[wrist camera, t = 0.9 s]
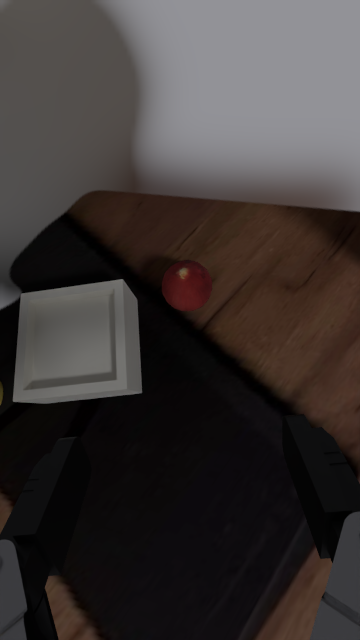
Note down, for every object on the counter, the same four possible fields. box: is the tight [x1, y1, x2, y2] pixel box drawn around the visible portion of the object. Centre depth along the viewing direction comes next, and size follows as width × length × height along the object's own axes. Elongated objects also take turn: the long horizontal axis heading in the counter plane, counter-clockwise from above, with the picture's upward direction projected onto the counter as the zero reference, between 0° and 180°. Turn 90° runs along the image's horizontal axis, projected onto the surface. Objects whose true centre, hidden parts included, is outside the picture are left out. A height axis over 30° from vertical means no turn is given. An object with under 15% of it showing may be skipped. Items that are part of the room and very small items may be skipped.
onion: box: [162, 260, 212, 311], centre depth 35 cm, size 6×6×8 cm
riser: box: [13, 279, 142, 403], centre depth 35 cm, size 12×12×6 cm
